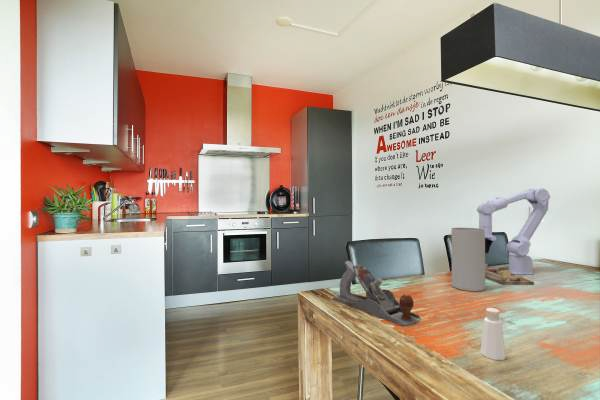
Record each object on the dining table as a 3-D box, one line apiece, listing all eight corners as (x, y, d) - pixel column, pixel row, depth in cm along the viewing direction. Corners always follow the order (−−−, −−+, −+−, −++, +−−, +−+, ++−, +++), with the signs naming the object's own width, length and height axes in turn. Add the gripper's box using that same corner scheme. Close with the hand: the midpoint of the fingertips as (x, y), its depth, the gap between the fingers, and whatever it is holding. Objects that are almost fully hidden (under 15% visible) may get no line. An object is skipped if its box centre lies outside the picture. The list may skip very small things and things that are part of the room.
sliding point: (520, 279, 142) (520, 270, 142) (524, 280, 140) (524, 271, 140) (499, 279, 142) (499, 270, 142) (503, 280, 140) (503, 271, 140)
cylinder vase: (482, 293, 126) (482, 230, 126) (448, 288, 133) (448, 229, 133) (487, 286, 136) (486, 228, 136) (455, 282, 143) (454, 227, 143)
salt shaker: (488, 347, 80) (488, 304, 80) (511, 357, 75) (510, 310, 75) (475, 352, 78) (474, 307, 78) (497, 362, 73) (497, 314, 73)
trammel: (495, 271, 160) (495, 263, 160) (525, 281, 139) (525, 272, 139) (477, 271, 160) (477, 263, 160) (504, 281, 139) (504, 272, 139)
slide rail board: (501, 273, 161) (501, 270, 161) (533, 284, 139) (533, 281, 139) (474, 273, 161) (474, 270, 161) (502, 284, 139) (501, 282, 139)
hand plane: (405, 329, 93) (405, 277, 93) (331, 300, 120) (330, 260, 120) (423, 322, 98) (423, 273, 98) (348, 295, 125) (347, 257, 125)
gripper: (470, 225, 170) (470, 250, 170) (486, 227, 155) (486, 255, 155) (483, 225, 170) (483, 250, 170) (500, 227, 155) (500, 255, 155)
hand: (485, 253), depth 163 cm, fingers closed
